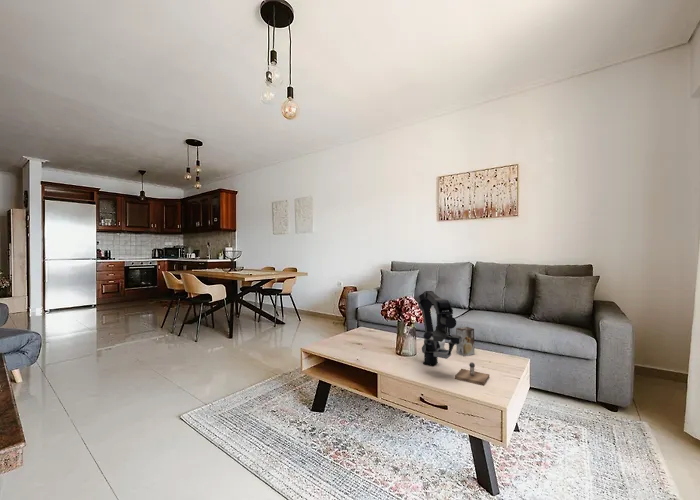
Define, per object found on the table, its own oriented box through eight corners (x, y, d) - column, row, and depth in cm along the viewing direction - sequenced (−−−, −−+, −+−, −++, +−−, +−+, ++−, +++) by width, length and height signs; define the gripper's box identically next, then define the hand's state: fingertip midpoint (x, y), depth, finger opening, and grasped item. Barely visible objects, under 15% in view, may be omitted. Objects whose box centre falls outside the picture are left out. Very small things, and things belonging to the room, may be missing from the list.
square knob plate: (454, 379, 161) (454, 363, 161) (461, 371, 171) (461, 356, 171) (484, 385, 153) (484, 369, 153) (489, 377, 163) (489, 361, 163)
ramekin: (441, 354, 199) (441, 343, 199) (421, 350, 206) (421, 340, 206) (447, 348, 210) (447, 338, 210) (428, 345, 217) (428, 335, 217)
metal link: (433, 356, 165) (433, 351, 165) (438, 352, 171) (438, 348, 171) (446, 358, 161) (446, 354, 161) (451, 355, 167) (451, 350, 167)
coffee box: (467, 351, 203) (467, 326, 203) (474, 354, 198) (474, 328, 198) (456, 353, 200) (455, 328, 200) (463, 356, 194) (463, 330, 194)
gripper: (419, 324, 165) (419, 354, 165) (455, 329, 154) (455, 361, 154) (427, 320, 174) (427, 349, 174) (462, 325, 164) (462, 355, 164)
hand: (442, 353), depth 166 cm, fingers closed on metal link, 7 cm apart
